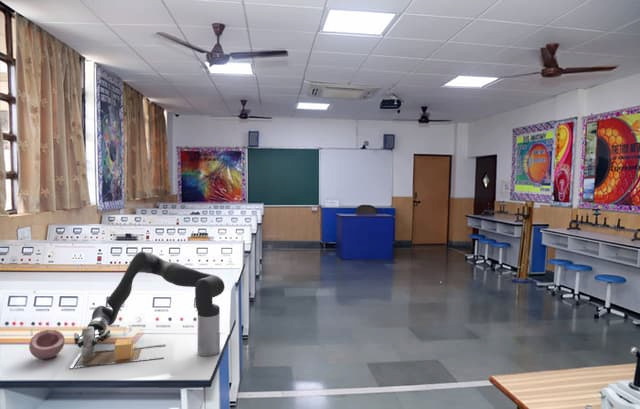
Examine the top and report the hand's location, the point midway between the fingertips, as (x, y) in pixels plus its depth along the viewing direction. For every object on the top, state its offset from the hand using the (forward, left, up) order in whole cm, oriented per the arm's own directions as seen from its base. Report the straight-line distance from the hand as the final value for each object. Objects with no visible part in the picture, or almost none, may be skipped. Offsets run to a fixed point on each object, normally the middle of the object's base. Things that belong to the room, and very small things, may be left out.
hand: (86, 344), depth 154 cm
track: (-13, -3, -9) cm, 16 cm away
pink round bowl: (+17, -13, -9) cm, 23 cm away
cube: (-13, -3, -8) cm, 15 cm away
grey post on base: (-8, -3, -9) cm, 12 cm away
